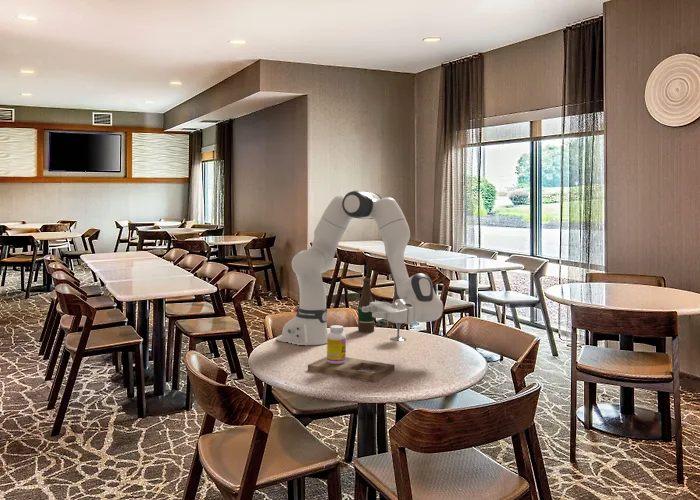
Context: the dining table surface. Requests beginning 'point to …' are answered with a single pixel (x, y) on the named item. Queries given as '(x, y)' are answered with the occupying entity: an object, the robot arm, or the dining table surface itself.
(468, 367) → the dining table surface
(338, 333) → the supplement bottle
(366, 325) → the beer bottle
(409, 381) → the dining table surface
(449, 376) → the dining table surface
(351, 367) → the caddy board
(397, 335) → the wine glass
